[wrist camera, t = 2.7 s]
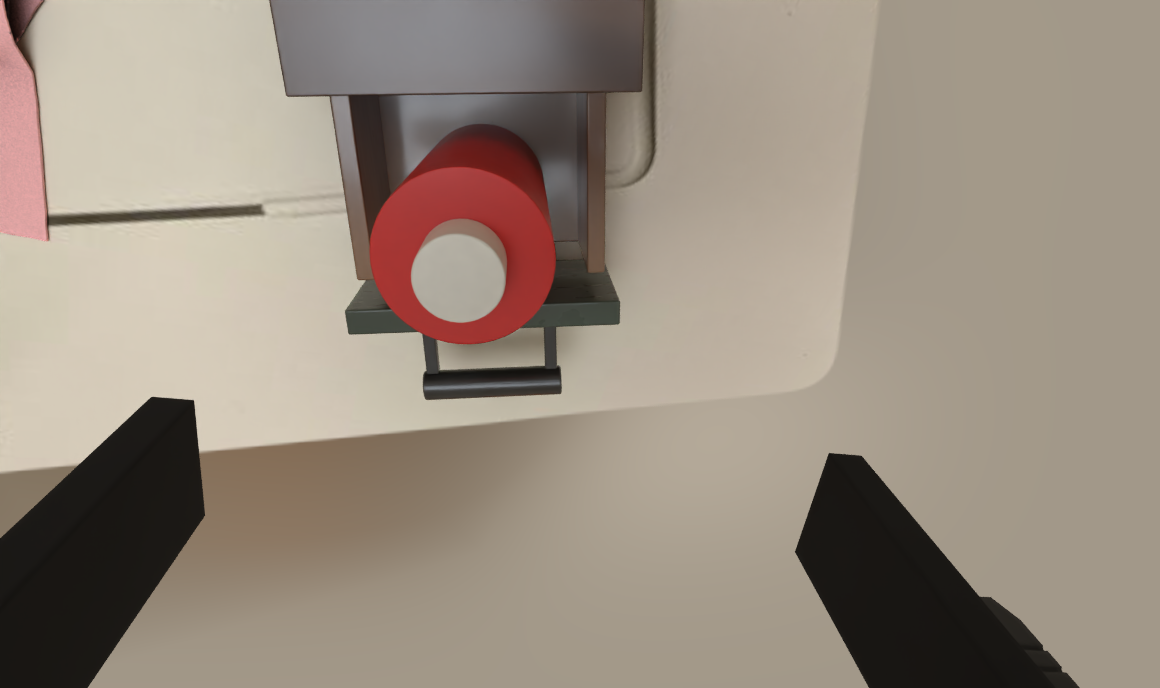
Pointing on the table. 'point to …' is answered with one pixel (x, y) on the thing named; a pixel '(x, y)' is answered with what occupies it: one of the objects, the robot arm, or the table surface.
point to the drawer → (574, 194)
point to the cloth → (19, 130)
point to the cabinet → (459, 46)
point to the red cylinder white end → (467, 239)
